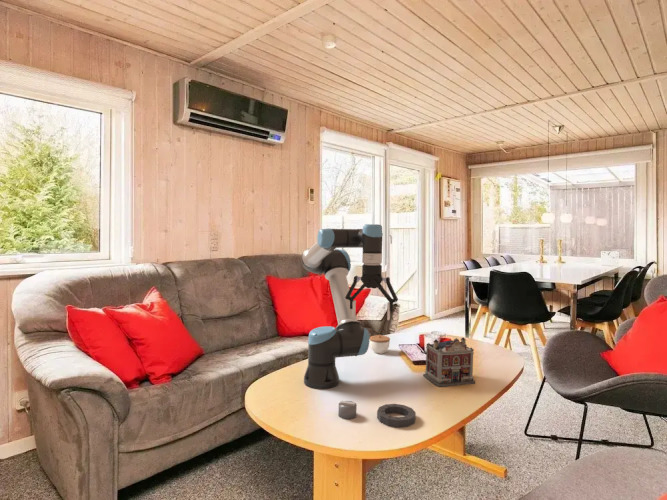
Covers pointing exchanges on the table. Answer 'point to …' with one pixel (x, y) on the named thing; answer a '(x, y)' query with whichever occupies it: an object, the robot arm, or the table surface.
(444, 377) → the model building
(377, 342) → the lidded jar
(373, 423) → the table surface
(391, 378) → the table surface
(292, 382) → the table surface
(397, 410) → the faceted gray torus
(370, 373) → the table surface
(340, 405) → the cap
